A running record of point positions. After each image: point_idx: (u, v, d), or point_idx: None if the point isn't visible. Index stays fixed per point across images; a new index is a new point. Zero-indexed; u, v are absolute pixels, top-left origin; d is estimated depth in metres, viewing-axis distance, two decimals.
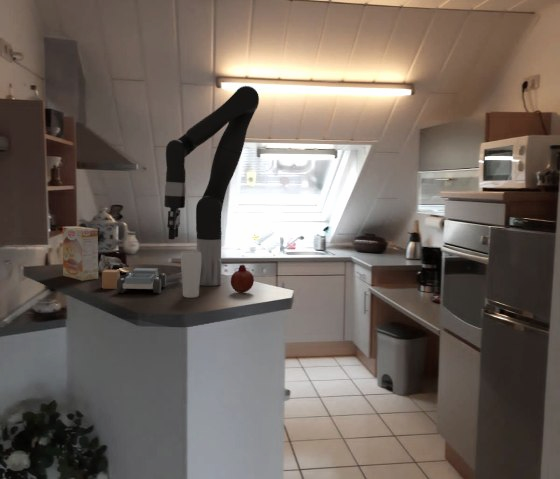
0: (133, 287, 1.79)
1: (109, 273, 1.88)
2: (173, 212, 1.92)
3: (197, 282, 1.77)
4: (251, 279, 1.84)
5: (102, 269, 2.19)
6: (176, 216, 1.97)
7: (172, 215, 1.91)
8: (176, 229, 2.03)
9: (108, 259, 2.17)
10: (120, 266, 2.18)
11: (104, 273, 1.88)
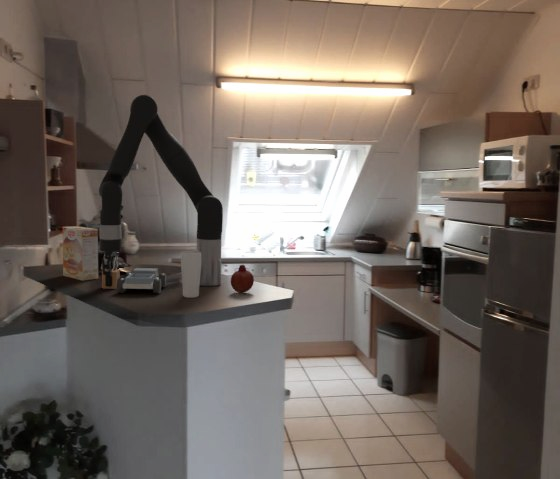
0: (133, 287, 1.79)
1: None
2: (107, 260, 1.83)
3: (197, 282, 1.77)
4: (251, 279, 1.84)
5: None
6: None
7: (106, 263, 1.84)
8: None
9: None
10: (122, 266, 2.19)
11: None
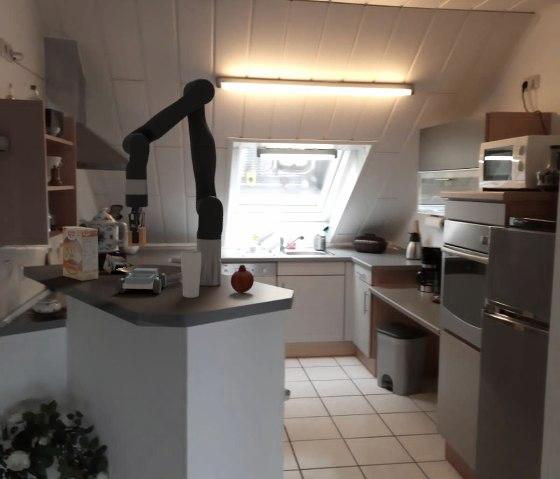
0: (133, 287, 1.79)
1: None
2: (134, 215, 1.77)
3: (197, 282, 1.77)
4: (251, 279, 1.84)
5: (106, 268, 2.22)
6: None
7: (133, 218, 1.77)
8: None
9: (111, 258, 2.19)
10: (123, 266, 2.20)
11: None
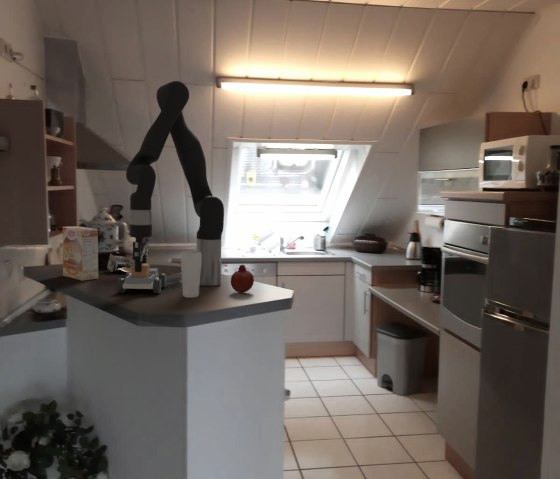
0: (133, 287, 1.79)
1: None
2: (138, 243, 1.76)
3: (197, 282, 1.77)
4: (251, 279, 1.84)
5: (110, 268, 2.23)
6: None
7: (137, 246, 1.76)
8: (144, 259, 1.87)
9: (114, 258, 2.20)
10: (125, 265, 2.20)
11: (134, 267, 1.81)
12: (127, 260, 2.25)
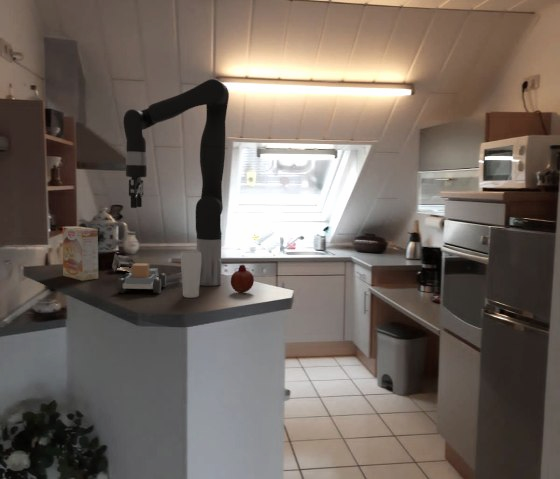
0: (133, 287, 1.79)
1: (139, 267, 1.81)
2: (134, 180, 1.95)
3: (197, 282, 1.77)
4: (251, 279, 1.84)
5: (114, 267, 2.24)
6: None
7: (133, 183, 1.95)
8: (139, 199, 2.06)
9: (117, 258, 2.22)
10: (127, 265, 2.21)
11: (134, 267, 1.81)
12: (131, 260, 2.25)
